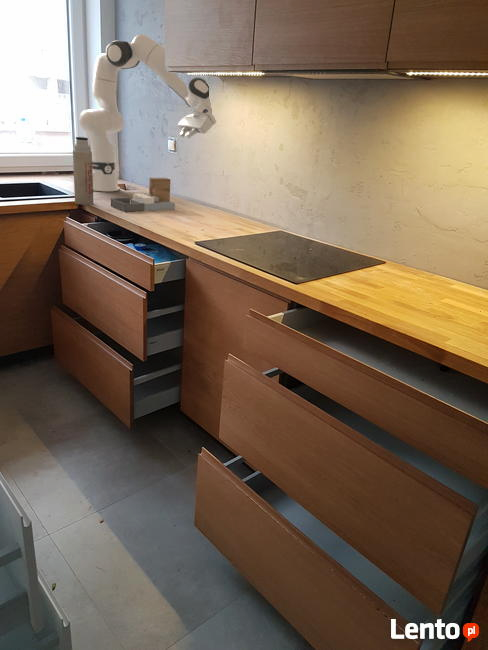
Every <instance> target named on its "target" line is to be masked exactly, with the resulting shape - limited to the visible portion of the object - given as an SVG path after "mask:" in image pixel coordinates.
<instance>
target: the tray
mask: <svg viewBox="0 0 488 650" xmlns="http://www.w3.org/2000/svg"><path fill="white" fill-rule="evenodd" d="M110 207H111V208H113V209H114V208H115V209H116V210H119V211H121V212H124V213H133V212H135V211H139V212H145V211H144V203H132V204H131V197H115V198H114V197H113V198H110ZM135 213H136V212H135Z"/></svg>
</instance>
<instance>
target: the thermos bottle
mask: <svg viewBox="0 0 488 650" xmlns="http://www.w3.org/2000/svg"><path fill="white" fill-rule="evenodd" d="M75 139H76V140H75V141H76V142H75V144H74V146H73V147H74V150H72V159H73V160H72V163H73V186H74V187H73V189H74V190H73V191H74V203H75V204H77V205H85V206H86V205H87V206H88V205H93V204H94V190H93V168H92V152H91V145H89V137H84V136H76V137H75Z"/></svg>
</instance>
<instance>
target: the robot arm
mask: <svg viewBox="0 0 488 650" xmlns="http://www.w3.org/2000/svg"><path fill="white" fill-rule="evenodd" d="M165 50H166V48H165V47H163V46H162V45H160V44H159V43H158V42H156V41H155V40H153V39H152V38H150V37H149V36H147V35H145V34H143V33H142V34H137V35H136V36H135V37H134V38H133V39H132V41H131V42H128V41H125V40H113V41H111V42H109V43H108V44H107V45H106V48H105V53H100V54H99V55H97V57H96V61H95V64H94V69H93V78H92V79H93V82H92V96H93V98H94V99H96V101H97V104H98V108H97V109H95V108H90V109H85V110H83V111H81V112H80V114H79V121H78V122H79V125H80V127H81V128H82V129H83V131H84V132H85V133H86V136H87V138H88V141H89V142H90V143H89V144H90V148H91V149H90V151H91V152H92V168H93V191H94V192H95V191H96V192H116V191H119V190H121V187H120V186H119V184H118V182H119V181H118V173H117V172H116V170H115V169H116V163H115V152H114V150H115V148H114V145H113V144H112V143H111V142H110V141H109V138H108V135H107V134H115V133H118V132H121V131H122V130H123V128H124V125H125V122H124V117H123V116H122V114H121V113H120V110H119V108H118V105H117V85H118V75H119V72H120V70H121V69H122V70H127V69H128V70H129V69H133V68H134V69H135V68H136V67H137V66H138V65H140V62H141V63H143V64H144V65H145V66H146V67H147V68H149V69H150V70H151V71H152V72H154V73H155V74H156V75H157V76H158V77H159V78H160V79H161V80H162V81H163V82H164V83H165V84H166V85H167V86H168V87H169V88H171V89H172V91H174V92H175V94H177V95H178V96H179V97H180V98H181V99H182V100H183V101H184V103H185V104H186V106H187V105H188V106H189V107H195V106H197V105H198V104H199V105H198V106H197V107H196V108H195V109H194V111H192V113H190V114H186V115H185V116H184V117H183V118H181V119H180V121H179V122H178V124H177V127H178V128H179V129H180V131H181V132H179V136H180V138H184V137H186V138H187V139H191V137H192V136H195V134H203V135H204V134H207V132H209V130H210V129H211V128H212V127H213V126H214V125H215V124H216V123H217V120H216V118H215V116H213V115H212V108H211V103H210V99H209V86H208V84H207V83H206V82H207V81H206V80H205V79H204V78H201V77H194V78H192V79H191V80H190V81H189V82H188V86H189V87H188V91H187V86H186V84H187V83H186V82H184V80H182V79H181V78H180V76H179V74H177V73H178V72H176V73H172V72H167V71H166V68H165ZM185 83H186V84H185ZM188 106H187V107H188ZM189 107H188V108H189Z"/></svg>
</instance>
